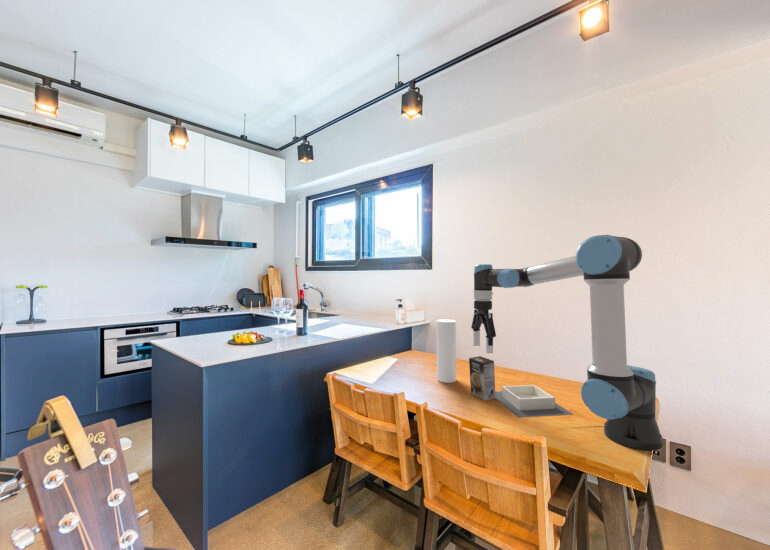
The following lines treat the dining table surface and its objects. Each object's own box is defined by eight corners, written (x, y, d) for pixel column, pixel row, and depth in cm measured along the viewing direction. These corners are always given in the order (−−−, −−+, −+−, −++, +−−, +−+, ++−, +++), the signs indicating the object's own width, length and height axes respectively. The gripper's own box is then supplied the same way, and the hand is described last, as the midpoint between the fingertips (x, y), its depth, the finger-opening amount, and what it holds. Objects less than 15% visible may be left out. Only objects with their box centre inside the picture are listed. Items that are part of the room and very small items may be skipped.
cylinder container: (454, 376, 169) (454, 318, 169) (456, 382, 160) (456, 321, 160) (436, 376, 170) (436, 318, 170) (437, 382, 161) (437, 321, 161)
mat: (573, 415, 123) (573, 414, 123) (518, 418, 121) (518, 417, 121) (534, 390, 149) (534, 389, 149) (488, 392, 147) (488, 391, 147)
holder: (555, 408, 129) (555, 397, 129) (519, 410, 127) (519, 399, 127) (534, 394, 143) (534, 384, 143) (501, 396, 141) (501, 386, 141)
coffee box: (470, 394, 145) (468, 358, 145) (481, 391, 148) (479, 355, 147) (484, 401, 137) (482, 363, 136) (496, 398, 140) (494, 360, 139)
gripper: (505, 302, 130) (504, 356, 130) (479, 297, 155) (479, 342, 155) (486, 303, 129) (486, 356, 130) (464, 297, 154) (464, 343, 154)
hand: (482, 349), depth 142 cm, fingers open, 13 cm apart
